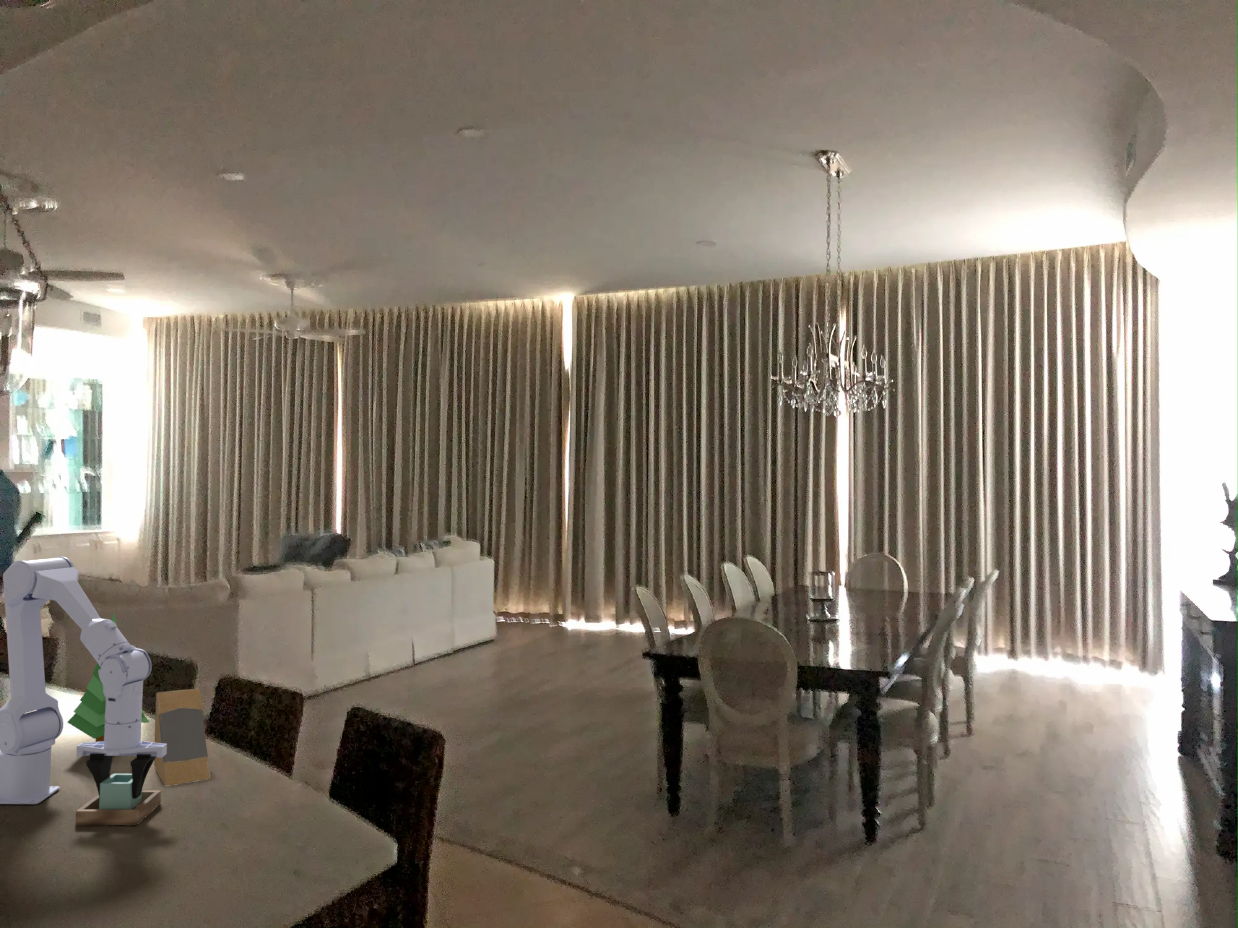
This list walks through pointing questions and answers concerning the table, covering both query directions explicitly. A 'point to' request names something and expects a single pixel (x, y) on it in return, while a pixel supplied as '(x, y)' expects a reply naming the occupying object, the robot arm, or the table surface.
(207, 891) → the table surface
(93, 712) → the decorative tree
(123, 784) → the box
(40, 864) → the table surface
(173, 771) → the sandwich container
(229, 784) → the table surface
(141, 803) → the walnut crate
